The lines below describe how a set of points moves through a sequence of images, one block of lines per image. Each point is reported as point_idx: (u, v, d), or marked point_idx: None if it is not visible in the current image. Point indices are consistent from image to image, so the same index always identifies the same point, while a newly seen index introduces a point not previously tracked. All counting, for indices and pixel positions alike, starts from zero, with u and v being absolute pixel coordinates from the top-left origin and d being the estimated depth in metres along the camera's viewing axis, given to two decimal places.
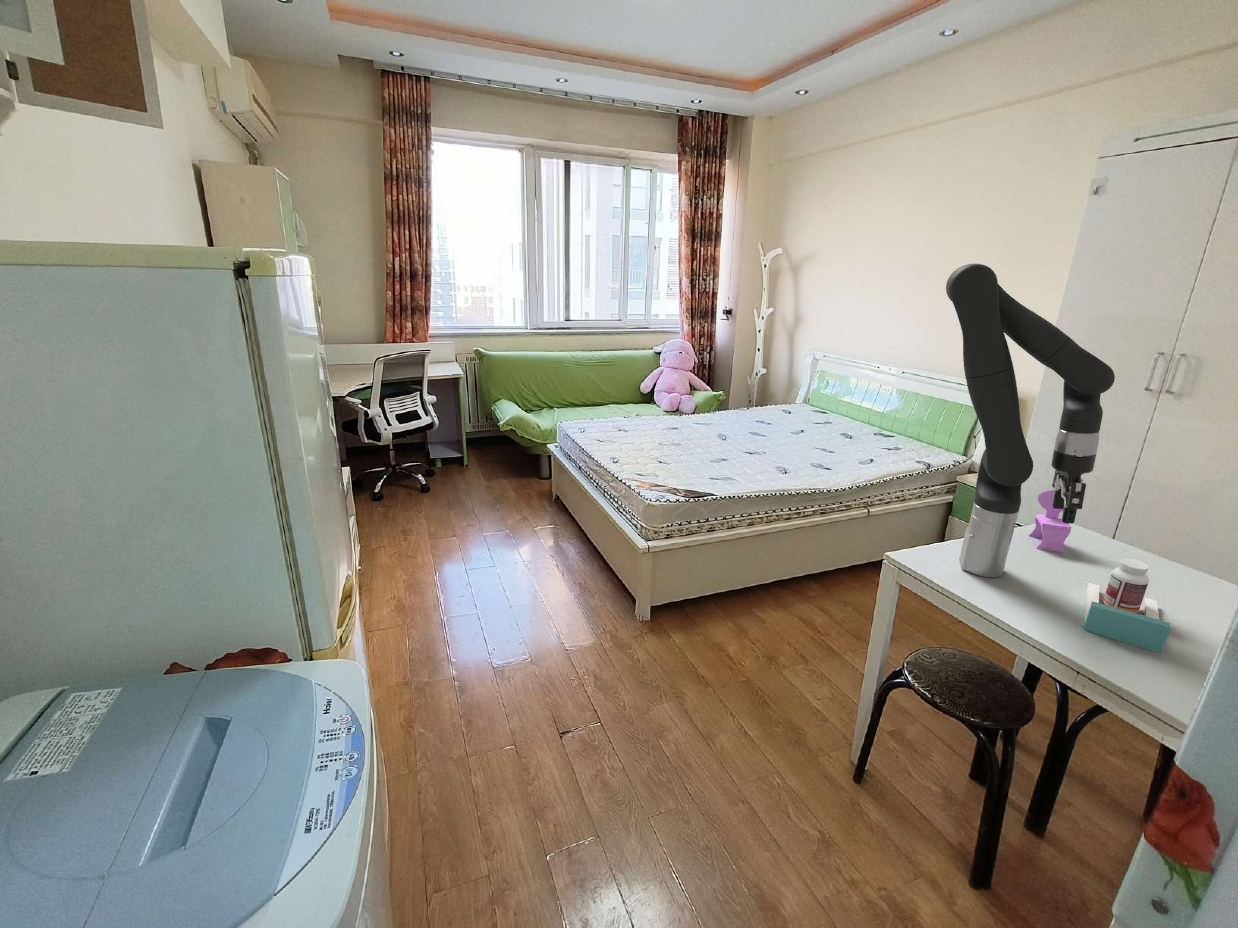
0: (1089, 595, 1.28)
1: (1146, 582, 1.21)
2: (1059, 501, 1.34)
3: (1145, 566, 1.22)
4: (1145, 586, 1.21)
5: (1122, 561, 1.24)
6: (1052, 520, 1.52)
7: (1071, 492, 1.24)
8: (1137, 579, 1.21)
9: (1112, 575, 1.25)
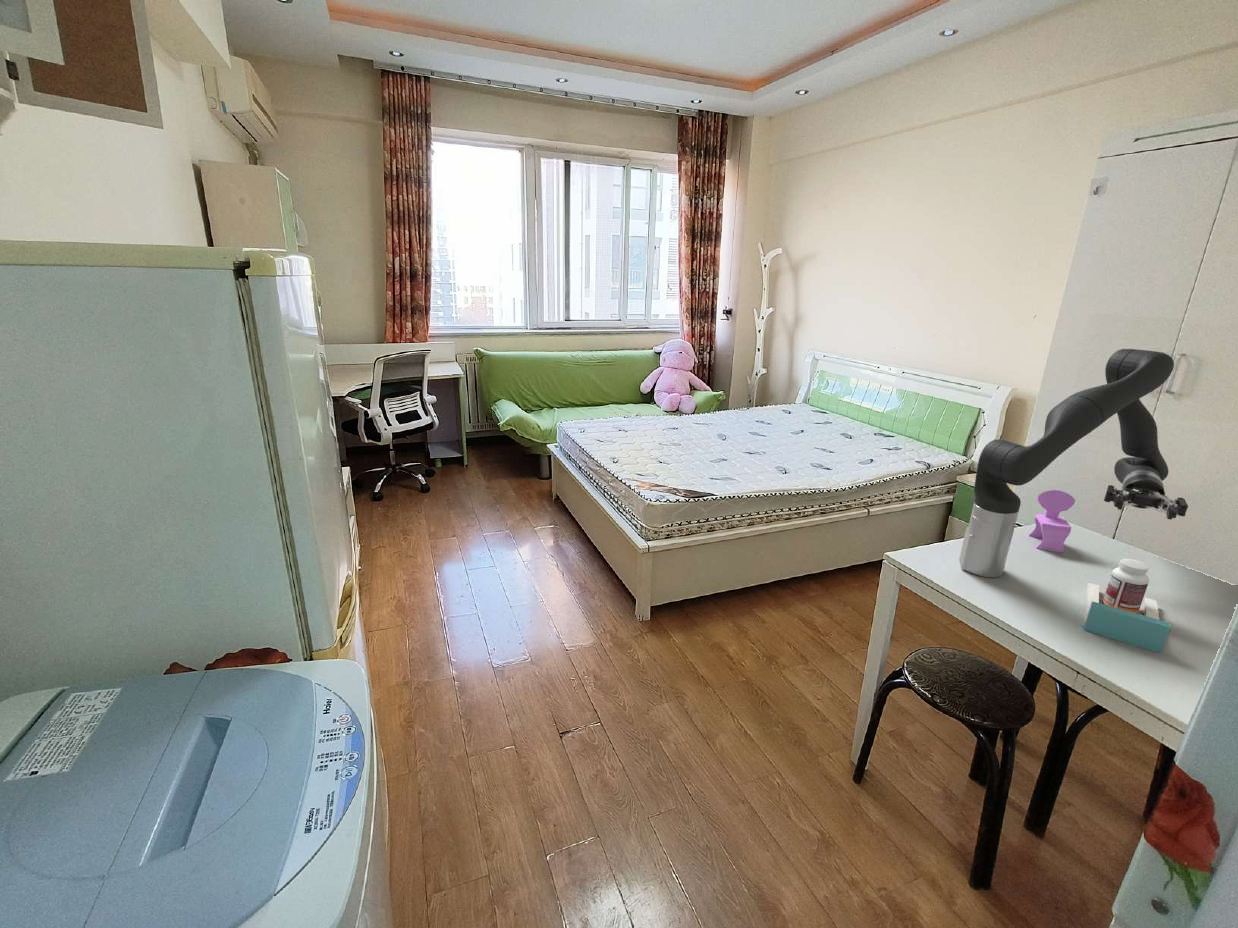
0: (1089, 595, 1.28)
1: (1146, 582, 1.21)
2: None
3: (1145, 566, 1.22)
4: (1145, 586, 1.21)
5: (1122, 561, 1.24)
6: (1052, 520, 1.52)
7: (1185, 501, 1.29)
8: (1137, 579, 1.21)
9: (1112, 575, 1.25)
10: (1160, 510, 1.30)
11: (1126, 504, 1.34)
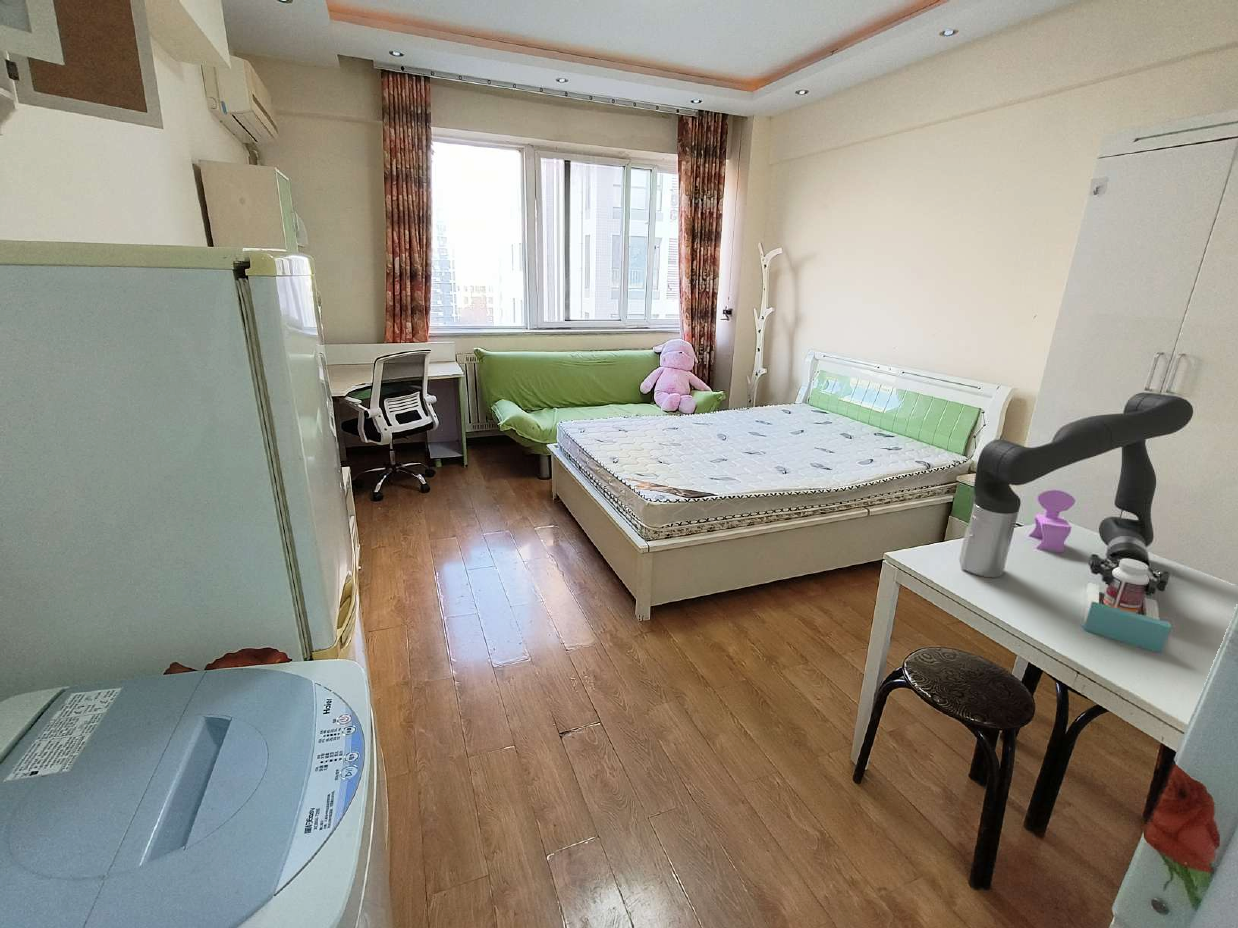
0: (1089, 595, 1.28)
1: (1146, 582, 1.21)
2: None
3: (1145, 566, 1.22)
4: (1145, 586, 1.21)
5: (1122, 561, 1.24)
6: (1052, 520, 1.52)
7: (1168, 576, 1.24)
8: (1137, 579, 1.21)
9: (1112, 575, 1.25)
10: None
11: None
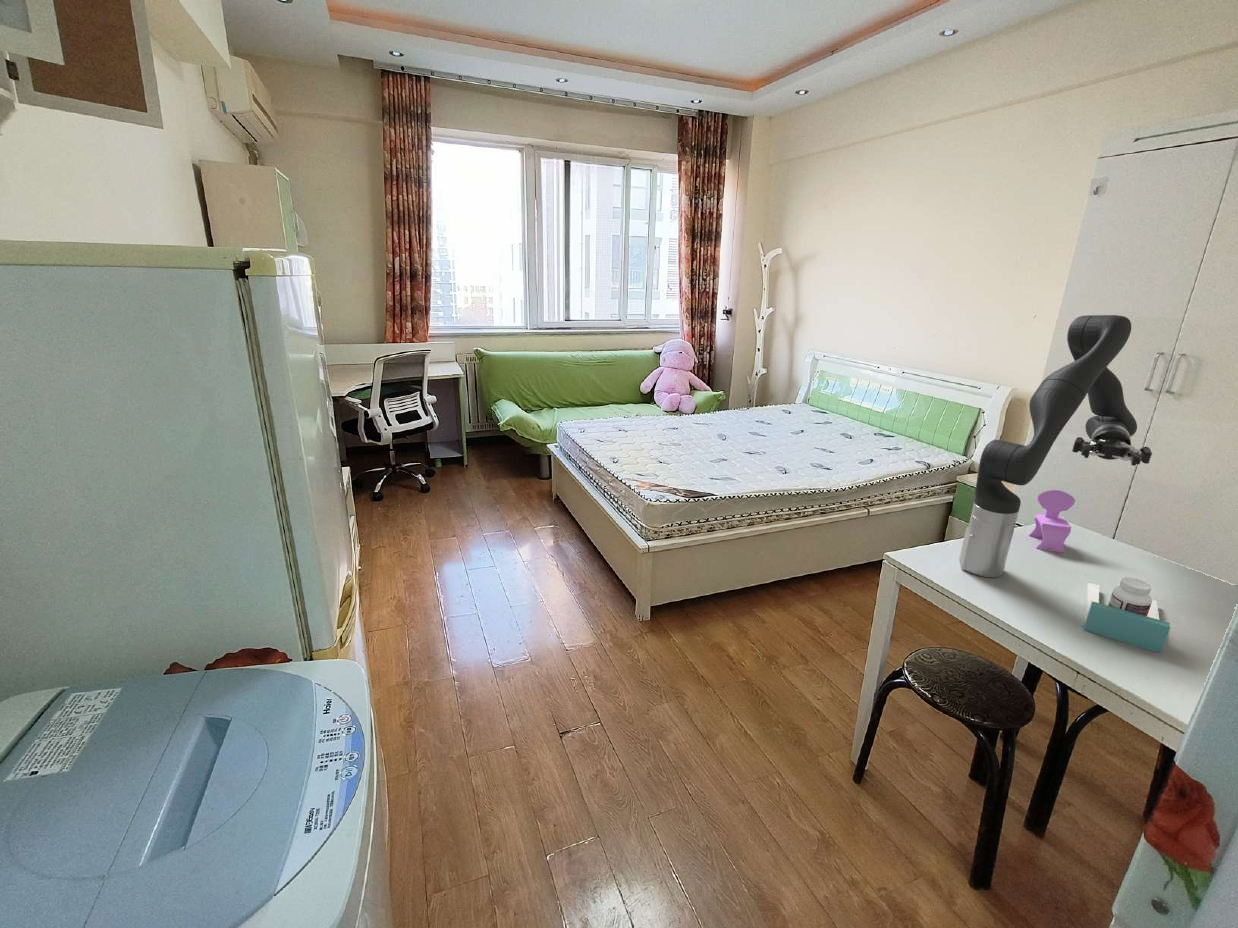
0: (1089, 595, 1.28)
1: (1149, 603, 1.14)
2: None
3: (1148, 586, 1.14)
4: (1147, 607, 1.14)
5: (1123, 580, 1.16)
6: (1052, 520, 1.52)
7: (1149, 450, 1.32)
8: (1139, 600, 1.14)
9: (1113, 595, 1.18)
10: (1125, 458, 1.34)
11: (1093, 454, 1.37)
